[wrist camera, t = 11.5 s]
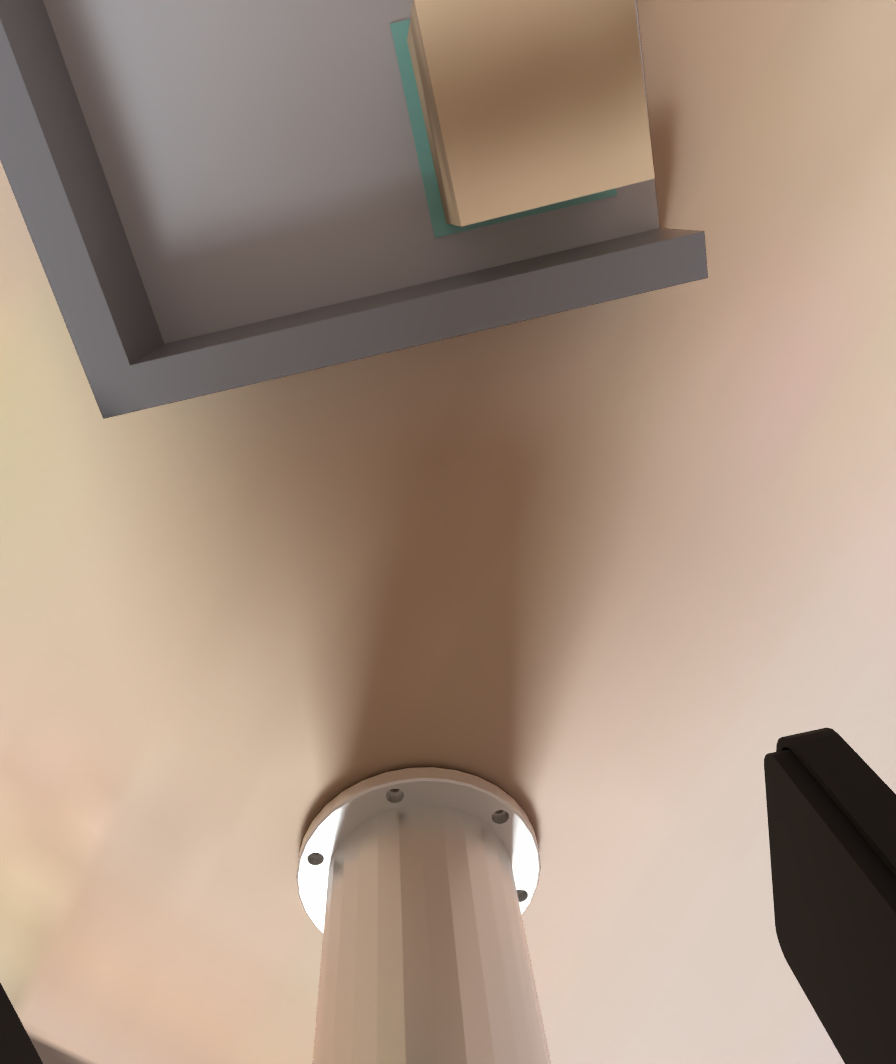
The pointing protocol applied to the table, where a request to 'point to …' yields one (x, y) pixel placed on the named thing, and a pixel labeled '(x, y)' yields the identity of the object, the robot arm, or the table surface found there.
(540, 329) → the table surface
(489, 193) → the birch block
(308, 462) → the table surface
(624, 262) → the arena
